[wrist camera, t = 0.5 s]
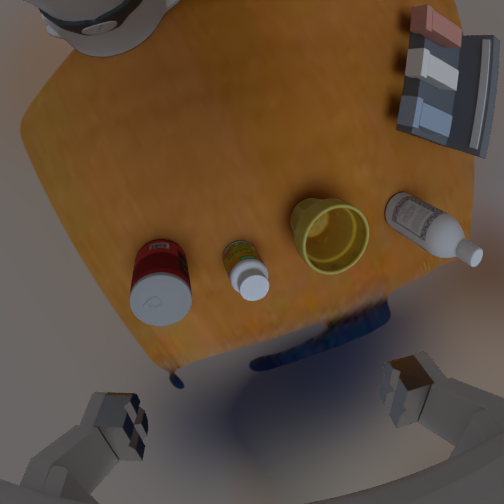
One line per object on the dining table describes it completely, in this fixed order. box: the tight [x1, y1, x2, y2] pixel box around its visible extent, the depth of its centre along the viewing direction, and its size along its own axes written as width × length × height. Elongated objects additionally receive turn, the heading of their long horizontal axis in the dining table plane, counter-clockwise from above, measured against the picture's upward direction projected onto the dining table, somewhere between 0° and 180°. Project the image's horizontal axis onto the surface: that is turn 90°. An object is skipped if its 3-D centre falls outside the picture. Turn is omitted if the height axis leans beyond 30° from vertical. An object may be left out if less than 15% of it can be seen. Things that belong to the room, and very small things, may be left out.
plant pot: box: [290, 198, 369, 275], centre depth 46 cm, size 10×10×10 cm
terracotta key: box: [410, 4, 462, 48], centre depth 35 cm, size 8×5×4 cm, turn 81°
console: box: [396, 32, 500, 159], centre depth 39 cm, size 11×22×12 cm, turn 171°
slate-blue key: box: [397, 95, 453, 137], centre depth 41 cm, size 8×5×4 cm, turn 81°
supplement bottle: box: [223, 241, 269, 301], centre depth 46 cm, size 5×5×10 cm
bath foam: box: [385, 193, 483, 267], centre depth 46 cm, size 7×7×20 cm
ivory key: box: [405, 48, 459, 91], centre depth 38 cm, size 8×5×4 cm, turn 81°
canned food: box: [130, 240, 192, 326], centre depth 43 cm, size 8×8×11 cm
